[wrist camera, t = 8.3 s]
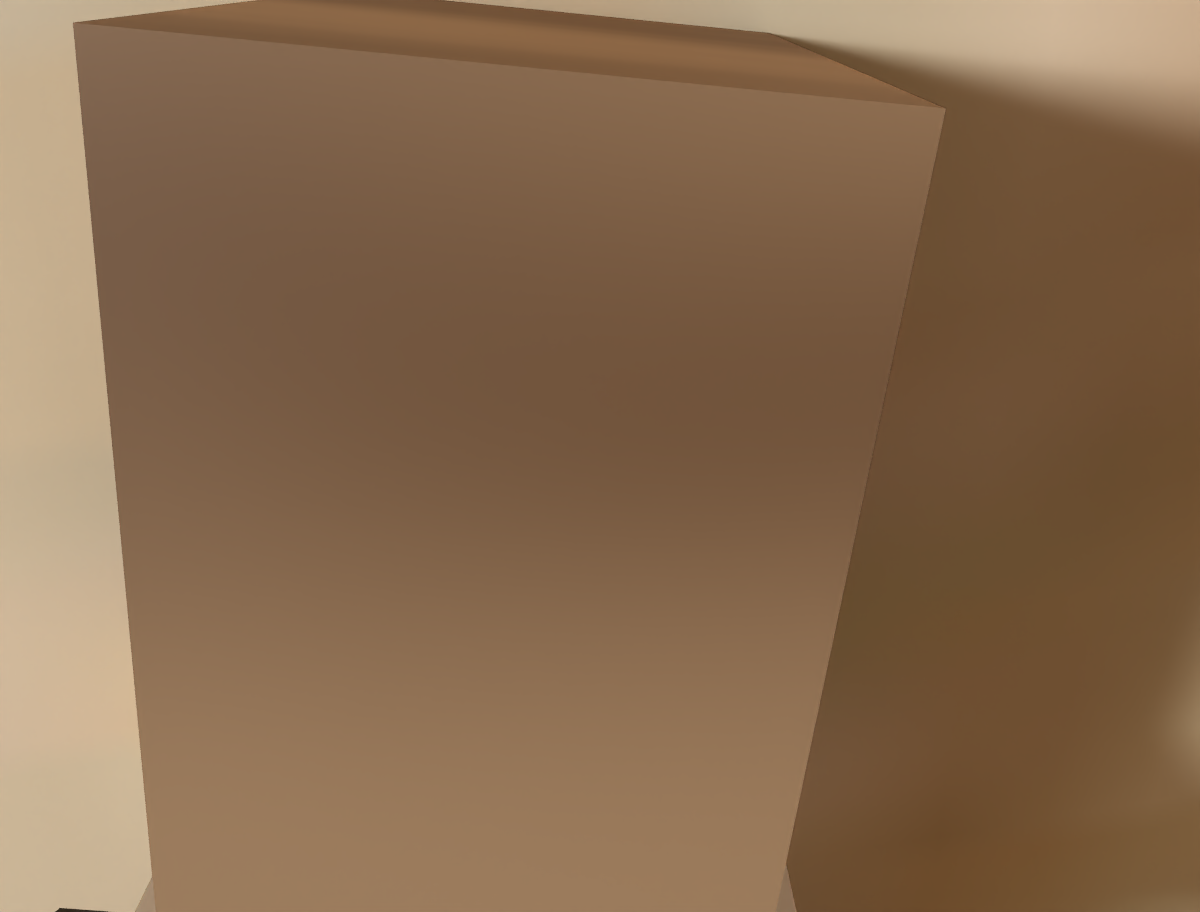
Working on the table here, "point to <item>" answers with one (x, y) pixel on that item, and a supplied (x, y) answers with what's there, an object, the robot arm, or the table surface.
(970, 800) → the table surface
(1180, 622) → the table surface
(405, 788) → the slat
